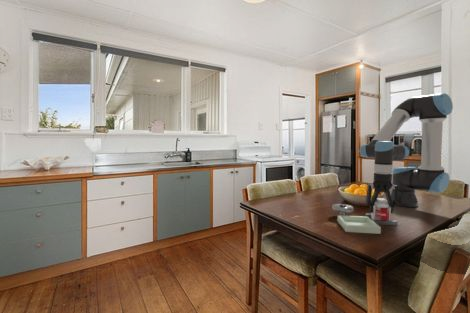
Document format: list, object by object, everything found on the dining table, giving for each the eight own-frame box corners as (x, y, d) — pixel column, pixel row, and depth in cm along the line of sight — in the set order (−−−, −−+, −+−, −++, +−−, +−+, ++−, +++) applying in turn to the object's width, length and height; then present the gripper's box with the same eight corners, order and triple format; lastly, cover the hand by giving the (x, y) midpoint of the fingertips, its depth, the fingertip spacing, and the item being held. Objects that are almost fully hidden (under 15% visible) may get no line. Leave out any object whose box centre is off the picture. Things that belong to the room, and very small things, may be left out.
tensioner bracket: (386, 217, 121) (386, 214, 121) (397, 225, 110) (397, 221, 110) (365, 216, 123) (365, 213, 123) (374, 224, 112) (374, 220, 112)
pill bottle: (372, 221, 116) (373, 199, 115) (374, 218, 121) (375, 196, 120) (387, 224, 112) (388, 201, 111) (388, 220, 117) (390, 198, 116)
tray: (367, 222, 115) (367, 216, 115) (380, 233, 101) (380, 227, 101) (337, 220, 117) (337, 215, 117) (345, 231, 103) (346, 225, 103)
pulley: (349, 214, 126) (350, 202, 126) (356, 221, 117) (356, 208, 116) (329, 213, 128) (330, 202, 128) (334, 219, 118) (335, 207, 118)
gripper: (400, 172, 117) (397, 217, 119) (359, 171, 120) (357, 215, 122) (408, 174, 110) (406, 223, 111) (364, 173, 113) (362, 220, 114)
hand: (380, 219), depth 117 cm, fingers closed on pill bottle, 6 cm apart
